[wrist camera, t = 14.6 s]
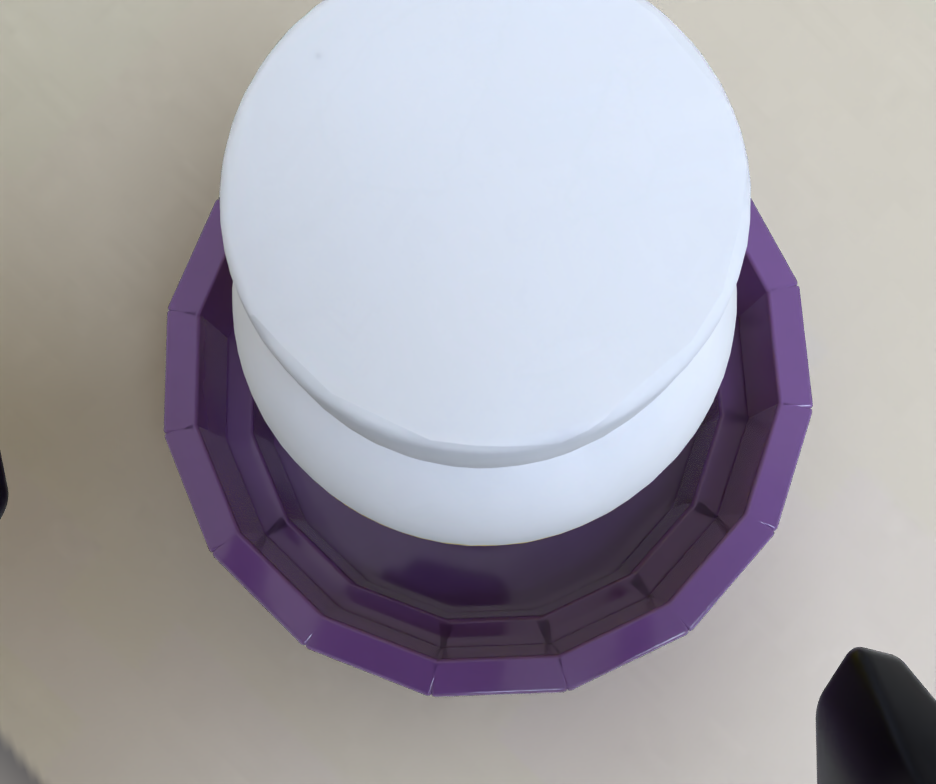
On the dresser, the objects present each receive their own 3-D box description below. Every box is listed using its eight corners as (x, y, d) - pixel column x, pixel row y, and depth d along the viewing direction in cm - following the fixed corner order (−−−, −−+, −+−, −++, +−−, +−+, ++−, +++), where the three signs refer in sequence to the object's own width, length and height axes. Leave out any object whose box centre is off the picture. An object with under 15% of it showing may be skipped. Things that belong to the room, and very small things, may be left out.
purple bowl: (350, 756, 17) (312, 815, 13) (157, 280, 19) (74, 211, 15) (832, 525, 18) (931, 517, 14) (599, 89, 20) (628, -25, 16)
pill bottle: (305, 306, 19) (60, -39, 8) (574, 230, 19) (704, -208, 8) (379, 585, 17) (213, 640, 7) (665, 500, 18) (961, 418, 7)
